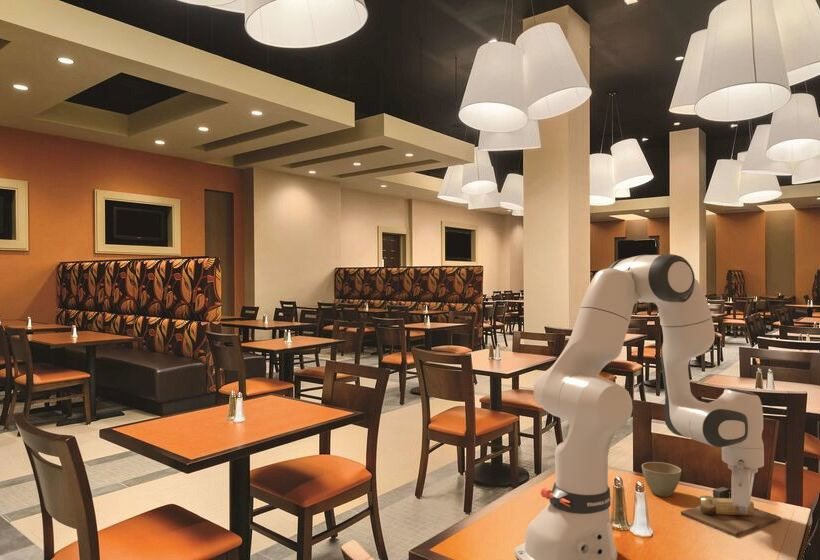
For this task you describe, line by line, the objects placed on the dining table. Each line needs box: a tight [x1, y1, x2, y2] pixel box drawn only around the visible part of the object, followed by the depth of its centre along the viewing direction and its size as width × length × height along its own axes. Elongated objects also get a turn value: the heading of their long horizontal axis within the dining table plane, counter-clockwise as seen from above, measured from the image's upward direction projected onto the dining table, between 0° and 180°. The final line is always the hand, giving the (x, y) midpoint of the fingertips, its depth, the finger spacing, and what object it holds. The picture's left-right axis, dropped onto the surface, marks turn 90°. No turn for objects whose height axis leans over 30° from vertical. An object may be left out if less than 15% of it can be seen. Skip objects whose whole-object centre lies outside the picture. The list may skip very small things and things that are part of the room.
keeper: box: [712, 486, 731, 499], centre depth 143 cm, size 6×5×3 cm
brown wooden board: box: [680, 505, 782, 537], centre depth 136 cm, size 18×14×1 cm
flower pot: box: [641, 461, 682, 497], centre depth 153 cm, size 10×10×7 cm
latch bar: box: [699, 495, 755, 515], centre depth 137 cm, size 12×4×3 cm, turn 81°
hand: (743, 512), depth 134 cm, fingers closed, pressing on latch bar
